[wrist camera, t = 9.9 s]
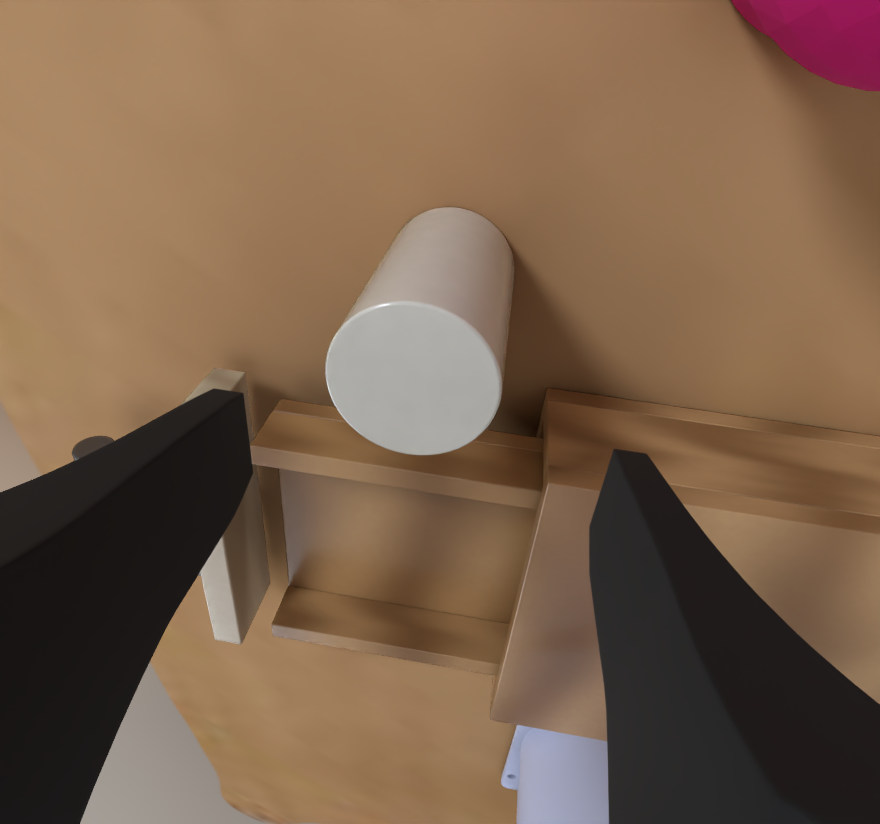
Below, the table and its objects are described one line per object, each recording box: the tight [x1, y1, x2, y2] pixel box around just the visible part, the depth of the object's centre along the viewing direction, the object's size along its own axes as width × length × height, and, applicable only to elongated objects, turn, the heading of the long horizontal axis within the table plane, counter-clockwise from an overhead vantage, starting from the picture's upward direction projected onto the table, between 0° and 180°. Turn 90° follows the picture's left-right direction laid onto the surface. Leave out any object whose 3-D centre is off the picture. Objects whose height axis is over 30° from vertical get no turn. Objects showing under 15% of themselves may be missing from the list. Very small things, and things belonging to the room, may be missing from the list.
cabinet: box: [490, 388, 880, 741], centre depth 22 cm, size 15×13×5 cm
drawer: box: [72, 368, 543, 676], centre depth 23 cm, size 18×11×3 cm, turn 85°
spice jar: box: [325, 207, 515, 455], centre depth 16 cm, size 4×4×7 cm
